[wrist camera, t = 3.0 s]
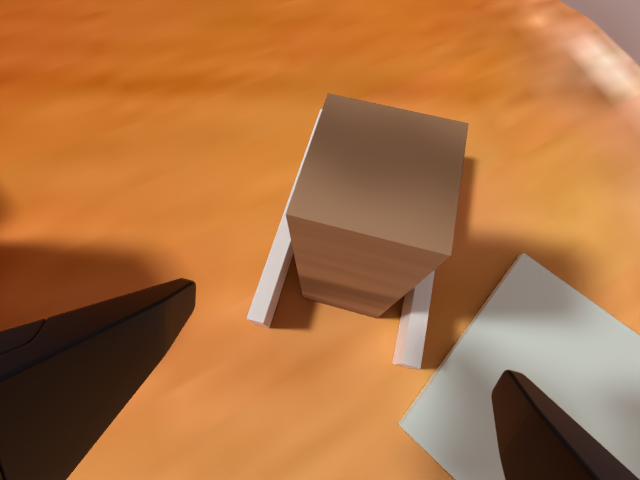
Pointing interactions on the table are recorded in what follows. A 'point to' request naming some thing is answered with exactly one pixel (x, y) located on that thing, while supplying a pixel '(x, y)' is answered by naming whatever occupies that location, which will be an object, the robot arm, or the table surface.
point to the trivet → (531, 373)
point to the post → (374, 203)
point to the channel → (275, 274)
